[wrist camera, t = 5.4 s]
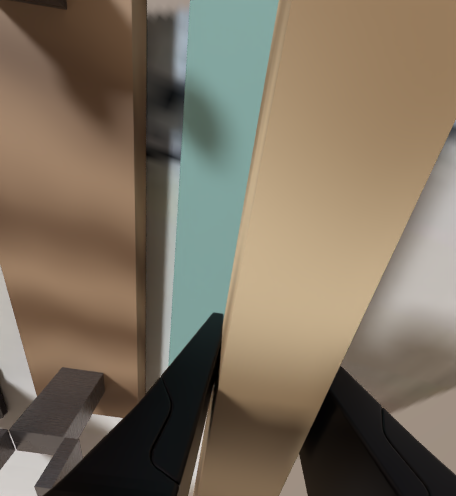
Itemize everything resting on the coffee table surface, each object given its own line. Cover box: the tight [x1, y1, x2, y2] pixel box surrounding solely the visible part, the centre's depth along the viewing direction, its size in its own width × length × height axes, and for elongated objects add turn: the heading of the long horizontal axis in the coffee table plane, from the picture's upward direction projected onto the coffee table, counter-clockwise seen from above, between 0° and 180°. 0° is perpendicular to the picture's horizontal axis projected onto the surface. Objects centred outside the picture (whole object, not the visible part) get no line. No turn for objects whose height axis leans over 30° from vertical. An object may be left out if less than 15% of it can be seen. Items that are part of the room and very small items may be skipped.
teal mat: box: [169, 0, 279, 366], centre depth 14 cm, size 28×9×1 cm, turn 172°
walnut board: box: [0, 0, 147, 418], centre depth 13 cm, size 30×8×2 cm, turn 172°
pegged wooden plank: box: [0, 0, 105, 496], centre depth 9 cm, size 24×5×6 cm, turn 172°
